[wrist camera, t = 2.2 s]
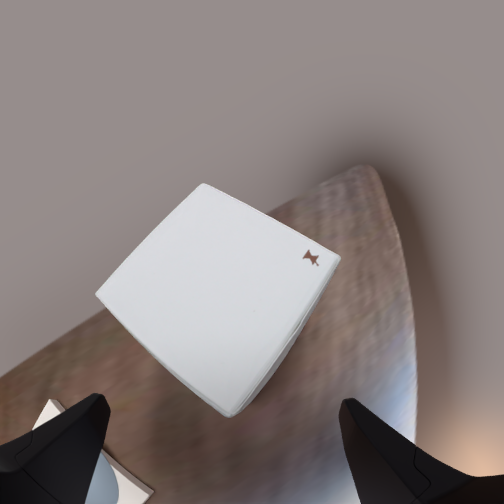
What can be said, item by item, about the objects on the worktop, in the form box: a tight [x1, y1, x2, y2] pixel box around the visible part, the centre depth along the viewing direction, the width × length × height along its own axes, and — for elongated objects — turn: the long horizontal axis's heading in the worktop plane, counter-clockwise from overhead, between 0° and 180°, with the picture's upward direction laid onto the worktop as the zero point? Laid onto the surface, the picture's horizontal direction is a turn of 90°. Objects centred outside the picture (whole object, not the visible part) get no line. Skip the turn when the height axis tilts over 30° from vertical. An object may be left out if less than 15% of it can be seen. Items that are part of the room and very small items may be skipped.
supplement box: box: [96, 184, 341, 418], centre depth 15 cm, size 7×7×13 cm
